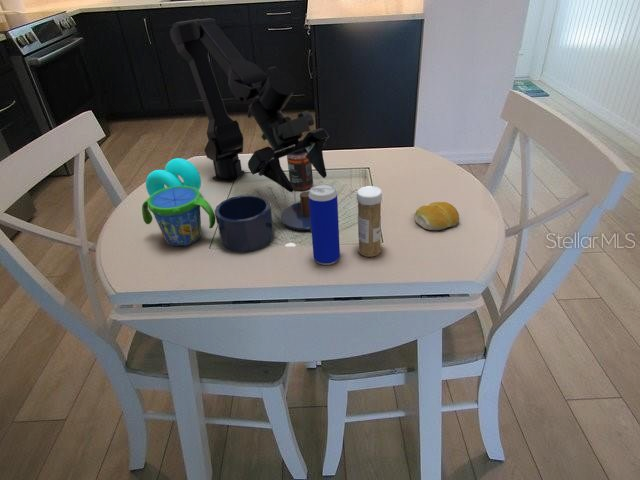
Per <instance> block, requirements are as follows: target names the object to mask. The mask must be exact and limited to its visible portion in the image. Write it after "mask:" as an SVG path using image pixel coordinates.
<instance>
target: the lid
mask: <svg viewBox="0 0 640 480" xmlns="http://www.w3.org/2000/svg"><path fill="white" fill-rule="evenodd" d="M299 201H300V202H296V203H293V204H290V205H289V206H286V207H285V208H284V209H283V210H281V212H280V216H279V218H280V222H281V224H282V225H284V226H285V227H287V228H289V229H291V230H292V229H293V230H295V231H311V220H310V208H309V191H301V192H300V193H299Z"/></svg>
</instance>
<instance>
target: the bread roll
mask: <svg viewBox="0 0 640 480" xmlns="http://www.w3.org/2000/svg"><path fill="white" fill-rule="evenodd" d="M459 218H460V213H459V212H458V209H457V208H456V207H455V206H454V205H453V204H451V203H450V202H447V201H435V202H431V203H429V204H427V205H426V204H425V205H421V206H419V207H418V208H417V209H416V211H415V212H414V220H415V223H416V224H418V225H419V226H420V227H422V228H423V229H425V230H429V231H440V230H444V229H447V228H450V227H454V226H456V225H457V224H458V223H459V220H460V219H459Z"/></svg>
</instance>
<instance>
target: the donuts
mask: <svg viewBox="0 0 640 480" xmlns="http://www.w3.org/2000/svg"><path fill="white" fill-rule="evenodd" d="M180 177H181V178H180ZM173 186H191V187H194V188H196V189H198V190H199V191H200V189H201V186H202V177H201V174H200V172H199V170H198V168H197V167H196V166H195V165H194V164H193V163H192V162H190V161H189V160H187V159H185V158H181V157H175V158H172V159H170V160H169V161H168V162H167V163H166V165H165V167H164V169H155V170H153V171H151V172H149V174H148V175H147V177H146V180H145V188H146V191H147V194H148V196H149V197H150V196H151V195H152V194H154V193H155V192H157V191H159V190H161V189H165V188H168V187H173Z"/></svg>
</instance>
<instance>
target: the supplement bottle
mask: <svg viewBox="0 0 640 480" xmlns="http://www.w3.org/2000/svg"><path fill="white" fill-rule="evenodd" d="M294 148H295V147H294ZM291 149H293V148H291ZM307 154H308V153H306V152H304V151H303V149H302V150H300V151H297V152H294V153H292V154H289V155H287V156H286V160H287V168H288V180H289V181H290V183H291V185H292V187H293V189H294V191H304V190H310V189H311V188H312V187H313V186H314V177H313V165H312V164H311V163H310V161H309V160H308V159H307V157H306V155H307Z"/></svg>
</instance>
